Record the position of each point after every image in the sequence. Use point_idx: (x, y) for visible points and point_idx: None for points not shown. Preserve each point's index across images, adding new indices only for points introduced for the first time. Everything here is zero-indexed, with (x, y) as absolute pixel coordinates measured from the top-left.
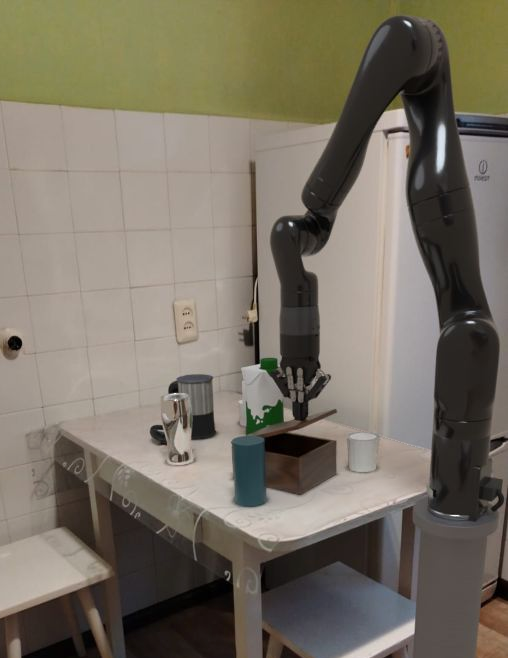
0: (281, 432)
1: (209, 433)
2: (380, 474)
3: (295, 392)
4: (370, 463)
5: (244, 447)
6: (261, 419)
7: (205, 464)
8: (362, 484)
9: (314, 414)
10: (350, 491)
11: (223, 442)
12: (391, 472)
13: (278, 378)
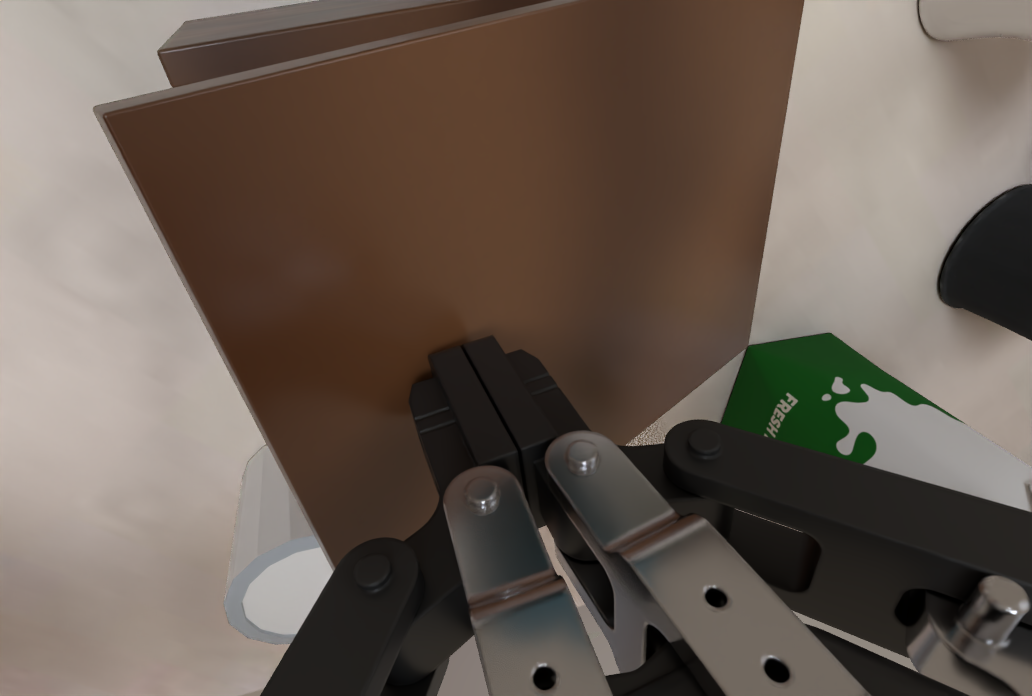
0: (379, 43)
1: (961, 263)
2: (184, 489)
3: (590, 533)
4: (239, 502)
5: None
6: (835, 401)
7: (855, 20)
8: (117, 372)
9: None
10: (57, 273)
11: (886, 260)
12: (175, 529)
13: (964, 562)
